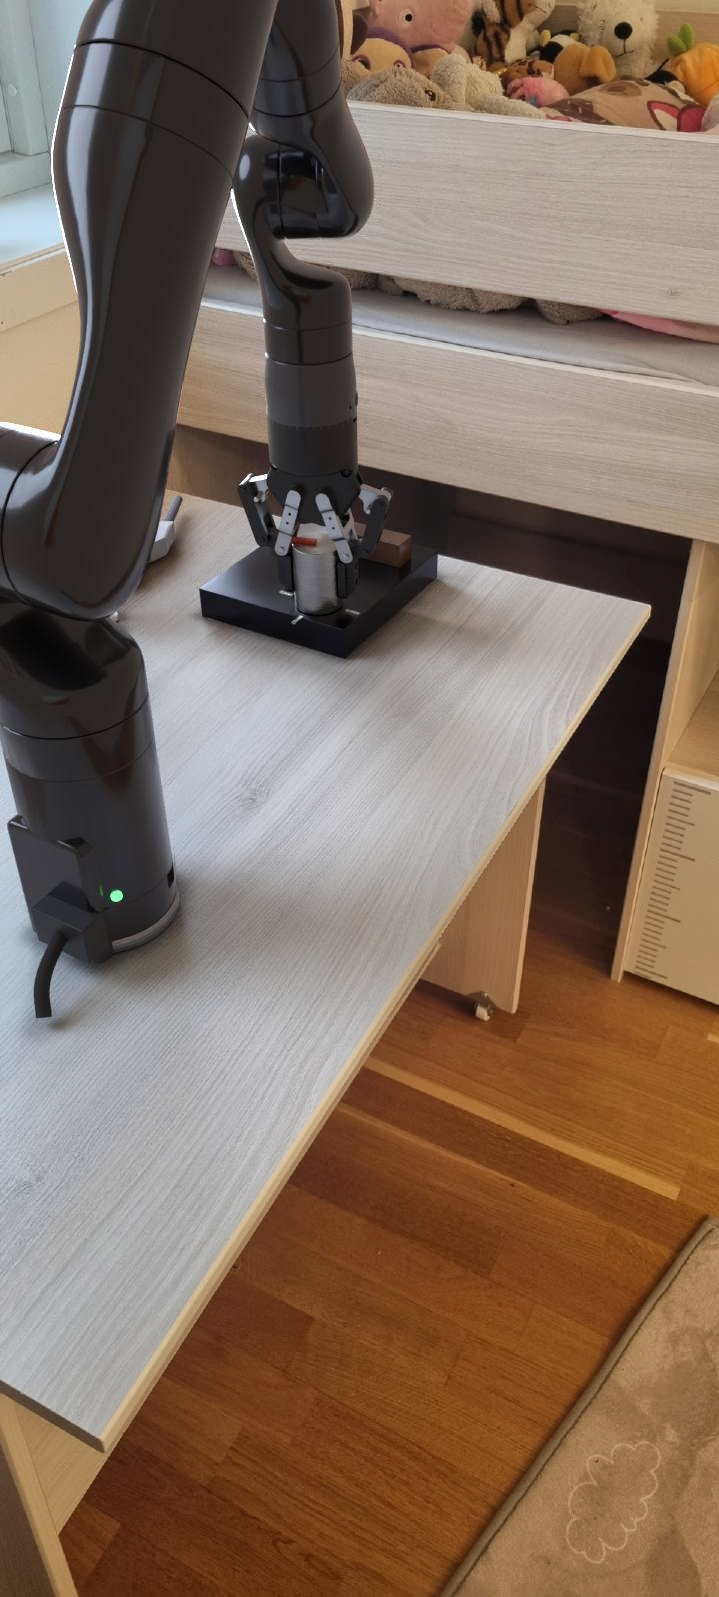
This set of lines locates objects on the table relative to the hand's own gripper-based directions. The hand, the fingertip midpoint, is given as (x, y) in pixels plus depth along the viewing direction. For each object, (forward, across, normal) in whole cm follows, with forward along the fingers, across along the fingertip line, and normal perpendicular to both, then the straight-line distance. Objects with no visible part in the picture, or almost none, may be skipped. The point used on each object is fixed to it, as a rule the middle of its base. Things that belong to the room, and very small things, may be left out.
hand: (319, 590), depth 109 cm
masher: (+1, -1, +11) cm, 11 cm away
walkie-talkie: (+4, -24, +11) cm, 27 cm away
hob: (+4, -2, +7) cm, 8 cm away
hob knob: (+1, 0, 0) cm, 1 cm away
